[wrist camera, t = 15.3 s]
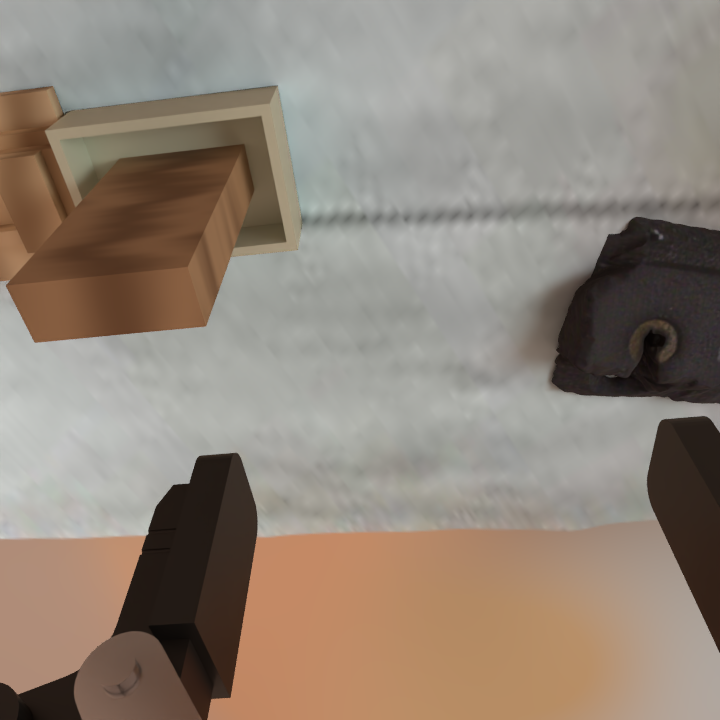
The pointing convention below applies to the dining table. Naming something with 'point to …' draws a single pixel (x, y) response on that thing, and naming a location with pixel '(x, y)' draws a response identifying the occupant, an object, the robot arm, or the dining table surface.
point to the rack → (28, 177)
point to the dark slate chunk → (647, 317)
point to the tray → (190, 132)
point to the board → (139, 248)
